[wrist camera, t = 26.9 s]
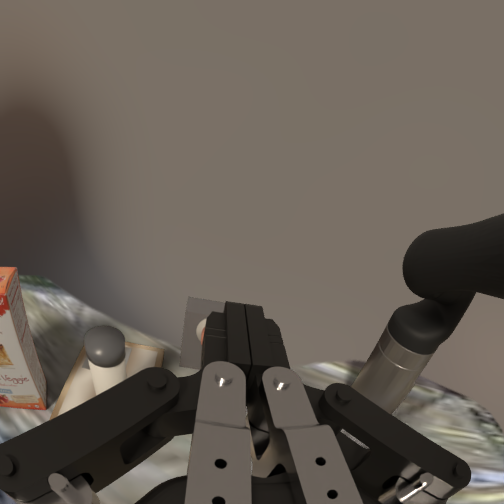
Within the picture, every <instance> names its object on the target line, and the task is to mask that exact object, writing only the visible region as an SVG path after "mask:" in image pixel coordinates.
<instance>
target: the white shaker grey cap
mask: <svg viewBox="0 0 504 504" xmlns="http://www.w3.org/2000/svg"><path fill="white" fill-rule="evenodd" d="M84 344H85V349H86V355H87V358H88V361H89V366H90V371H91V375H92V380H93V384H94V388H95V392H96V396H97V395H98V394H100V393H102V392H104V391H106V390H108V389H109V388H111V387H113V386H115V385H116V384H118V383H120V382H122V381H124V380H125V379H127V374H126V362H125V356H126V351H125V338H124V335H123V334H122V332H121V331H119V330H118V329H116V328H114V327H111V326H97V327H94V328H92V329H90V330H89V331H88V332H87V333H86V334H85V336H84Z"/></svg>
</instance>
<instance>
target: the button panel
mask: <svg viewBox="0 0 504 504" xmlns="http://www.w3.org/2000/svg"><path fill="white" fill-rule="evenodd" d="M224 306H225V303H223V302H217V301H211V300H205V299H198V298H193V297H188V302H187V307H186V312H185V321H184V329H183V337H182V346H181V356H180V366H181V367H187V368H194V369H200V366H201V351H202V345H201V333H202V330H203V328H204V327H205V325H206V319H207V317H208V316H209V315H210V313H211V312H212V311H214V312H221V313H223V311H224Z"/></svg>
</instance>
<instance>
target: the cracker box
mask: <svg viewBox="0 0 504 504" xmlns="http://www.w3.org/2000/svg"><path fill="white" fill-rule="evenodd" d="M46 387H47V382H46V379H45V376H44V373H43V370H42V367H41V364H40V361H39V358H38V355H37V352H36V349H35V346H34V342H33V339H32V335H31V332H30V328H29V324H28V320H27V316H26V312H25V308H24V303H23V299H22V294H21V289H20V284H19V278H18V272H17V268H15V267H0V406H3V407H12V408H23V409H38V410H46Z"/></svg>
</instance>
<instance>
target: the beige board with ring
mask: <svg viewBox="0 0 504 504" xmlns="http://www.w3.org/2000/svg"><path fill="white" fill-rule="evenodd" d="M125 351H126V356H125V362H126V374H127V378H129V377H131V376H132V375H134V374H136V373H138V372H139V371H141V370H143V369H145V368H149V367H160V368H161V367H162V362H163V358H164V349H159V348H154V347H148V346H144V345H139V344H134V343H129V342H125ZM95 396H96V392H95V388H94V384H93V380H92V375H91V371H90V366H89V361H88V358H87V355H86V349H85V344H84V346H83V348H82V350H81V352H80V354H79V356H78V358H77V360H76V362H75V364H74V366H73V368H72V370H71V372H70V374H69V376H68V379H67V381H66V383H65V385H64V387H63V389H62V392H61V394H60V396H59V398H58V401H57V403H56V405H55V408H54V410H53V412H52V415H51V417H50V420H51V419H53V418H55V417H57V416H59V415H61V414H63V413H65V412H67V411H69V410H70V409H72V408H74V407H76V406H78V405H80V404H82V403H84V402H86V401H87V400H89V399H91V398H93V397H95Z"/></svg>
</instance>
